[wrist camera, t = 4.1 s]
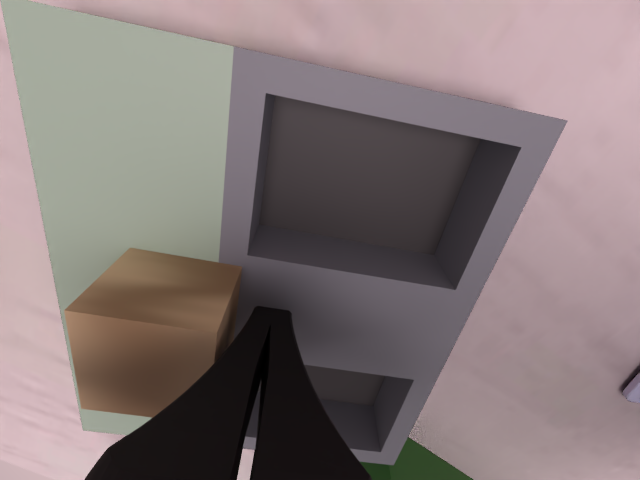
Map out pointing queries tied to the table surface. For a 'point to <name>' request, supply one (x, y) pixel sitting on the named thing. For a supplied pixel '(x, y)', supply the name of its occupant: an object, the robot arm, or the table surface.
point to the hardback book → (415, 466)
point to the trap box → (277, 197)
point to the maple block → (150, 330)
